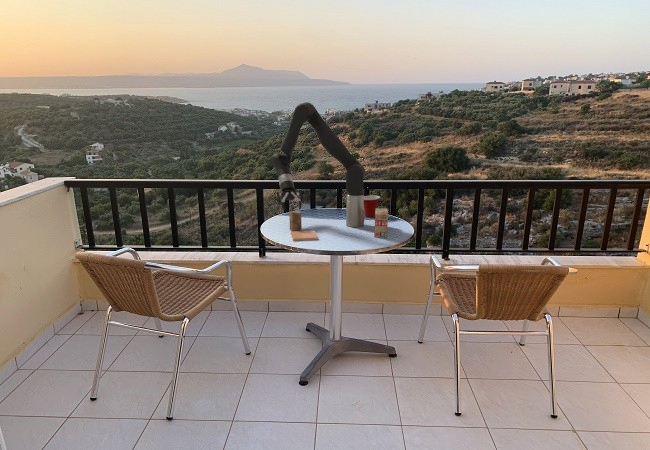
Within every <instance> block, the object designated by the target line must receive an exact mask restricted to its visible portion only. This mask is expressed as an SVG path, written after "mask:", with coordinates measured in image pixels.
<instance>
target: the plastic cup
mask: <svg viewBox="0 0 650 450" xmlns="http://www.w3.org/2000/svg"><path fill="white" fill-rule="evenodd" d="M380 198H381V196H379V195H375V194H374V195H364V207H363V208H364V210H365V211H364V216H365V217H366V218H375V209H376V208H378V206H379V201H380Z"/></svg>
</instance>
